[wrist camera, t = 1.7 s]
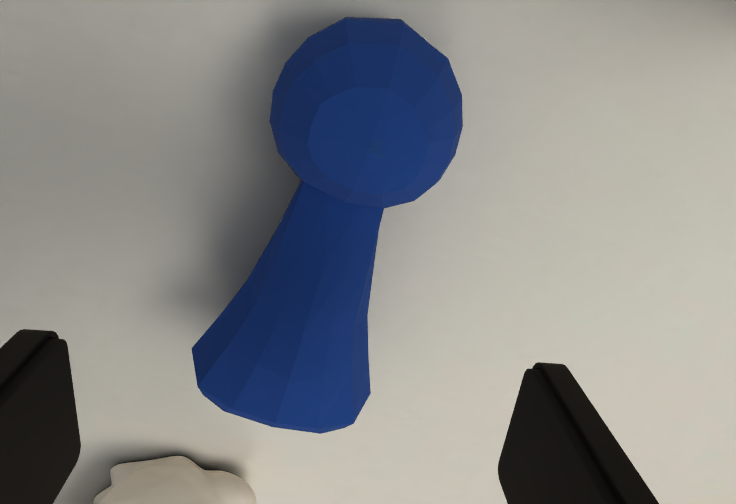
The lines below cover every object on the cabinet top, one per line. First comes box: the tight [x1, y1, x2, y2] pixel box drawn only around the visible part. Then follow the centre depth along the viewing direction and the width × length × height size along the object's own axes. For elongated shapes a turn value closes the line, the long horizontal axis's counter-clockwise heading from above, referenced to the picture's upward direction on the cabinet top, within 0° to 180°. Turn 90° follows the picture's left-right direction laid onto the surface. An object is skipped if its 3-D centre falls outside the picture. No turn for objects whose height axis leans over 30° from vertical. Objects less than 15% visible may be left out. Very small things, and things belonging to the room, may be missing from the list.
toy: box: [192, 17, 463, 434], centre depth 18 cm, size 7×6×15 cm
